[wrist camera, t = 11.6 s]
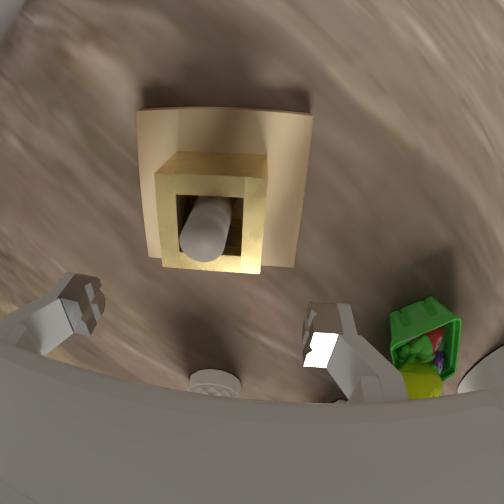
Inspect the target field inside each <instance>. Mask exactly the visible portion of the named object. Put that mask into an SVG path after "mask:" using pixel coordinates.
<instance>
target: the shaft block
mask: <svg viewBox="0 0 504 504" xmlns="http://www.w3.org/2000/svg"><path fill="white" fill-rule="evenodd" d="M313 117H314V116H313V115H312V114H311V113H303V112H294V111H283V110H271V109H256V108H237V107H162V108H144V109H141V110H138V111H136V122H137V144H138V160H139V173H140V185H141V196H142V206H143V215H144V223H145V232H146V239H147V247H148V254H149V257H155V258H162V256H161V247H160V238H159V228H158V218H157V207H156V194H155V180H154V173H155V172H156V171H157V170H158V169H159V168H160V167H161V166H162V165H163V164H164V163H165V162H166V161H167V160H169V159H170V158H171V157H172V156H173V155H174V154H175V153H176V152H177V151H202V152H229V153H248V154H263V155H267V159H268V183H267V196H266V208H265V220H264V231H263V243H262V255H261V265H266V266H281V267H294V261H295V255H296V248H297V242H298V235H299V228H300V221H301V214H302V207H303V200H304V192H305V185H306V177H307V169H308V161H309V152H310V144H311V135H312V126H313ZM243 208H244V198H239V197H222V196H202V195H195V205H194V207H193V209H192V211H191V213H190V215H189V218H188V220H187V222H186V224H185V226H184V228H183V230H182V232H181V234H180V239H179V242H180V246H181V249H182V250H183V252H184V253H185V254H186V255H187V256H188V257H189V258H191V259H193V260H195V261H199V262H210V261H213V260H215V259H217V258H218V257H220V256H221V254H222V253H223V251H224V248H225V243H226V239H227V234H228V230H229V225H230V221H231V218H234V219H243Z"/></svg>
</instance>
